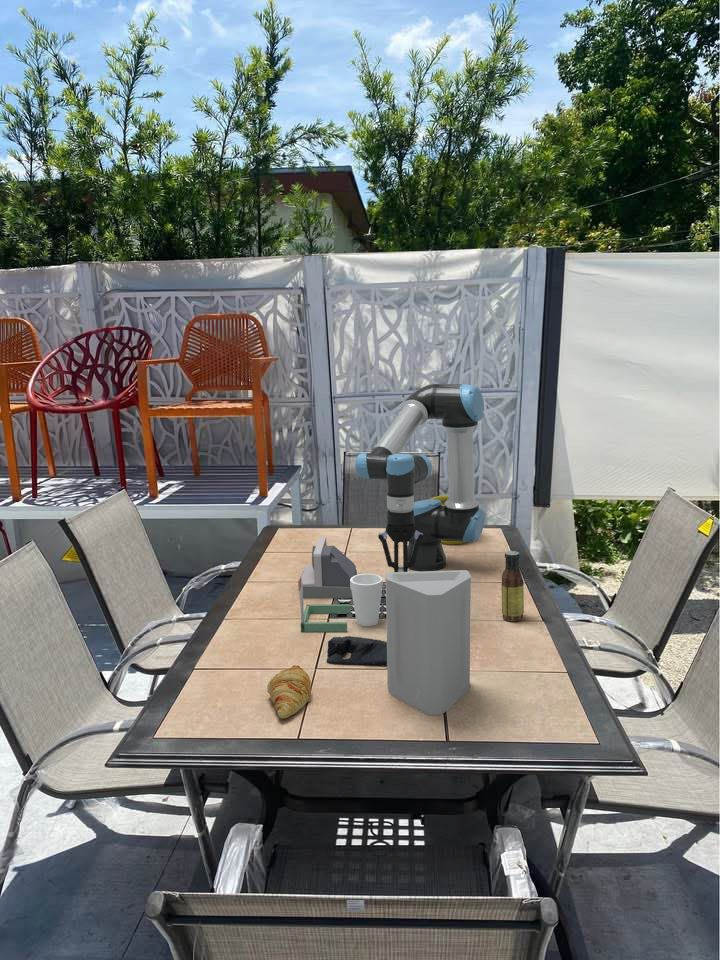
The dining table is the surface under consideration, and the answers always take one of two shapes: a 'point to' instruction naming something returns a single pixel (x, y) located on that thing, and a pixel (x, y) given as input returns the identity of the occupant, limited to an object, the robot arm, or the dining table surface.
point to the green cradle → (321, 609)
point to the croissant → (290, 691)
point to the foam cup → (366, 598)
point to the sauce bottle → (512, 589)
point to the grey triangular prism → (428, 638)
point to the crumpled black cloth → (357, 651)
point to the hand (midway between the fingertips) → (400, 589)
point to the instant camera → (328, 573)
